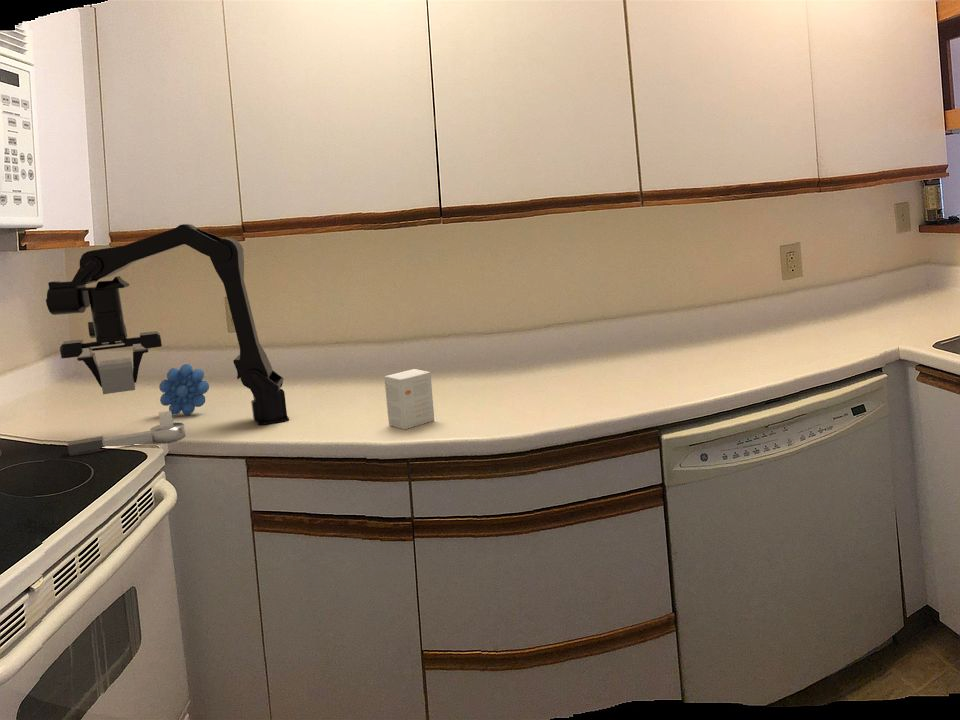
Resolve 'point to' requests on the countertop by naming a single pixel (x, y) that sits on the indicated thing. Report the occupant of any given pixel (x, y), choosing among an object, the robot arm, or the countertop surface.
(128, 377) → the grey rounded cube
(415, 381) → the small box
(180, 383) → the grapes
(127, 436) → the ratchet
